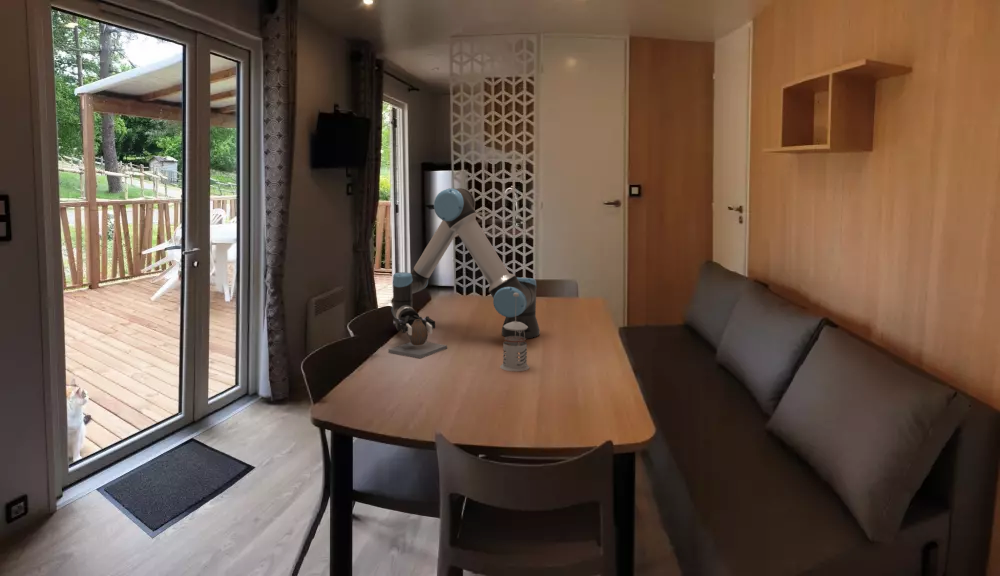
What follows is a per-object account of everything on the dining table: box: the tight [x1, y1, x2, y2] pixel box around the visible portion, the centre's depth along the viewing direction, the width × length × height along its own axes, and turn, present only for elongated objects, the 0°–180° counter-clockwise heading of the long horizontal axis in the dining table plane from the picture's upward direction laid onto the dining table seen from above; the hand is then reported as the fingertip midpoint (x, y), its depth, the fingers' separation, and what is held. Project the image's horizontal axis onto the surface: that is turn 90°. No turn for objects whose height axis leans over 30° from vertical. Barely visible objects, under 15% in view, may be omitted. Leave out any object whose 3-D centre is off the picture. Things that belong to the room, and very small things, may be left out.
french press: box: [499, 293, 530, 372], centre depth 212 cm, size 10×12×25 cm
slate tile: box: [388, 341, 448, 359], centre depth 231 cm, size 14×16×1 cm
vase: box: [407, 319, 429, 345], centre depth 230 cm, size 7×7×9 cm
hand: (421, 330), depth 225 cm, fingers closed on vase, 7 cm apart
